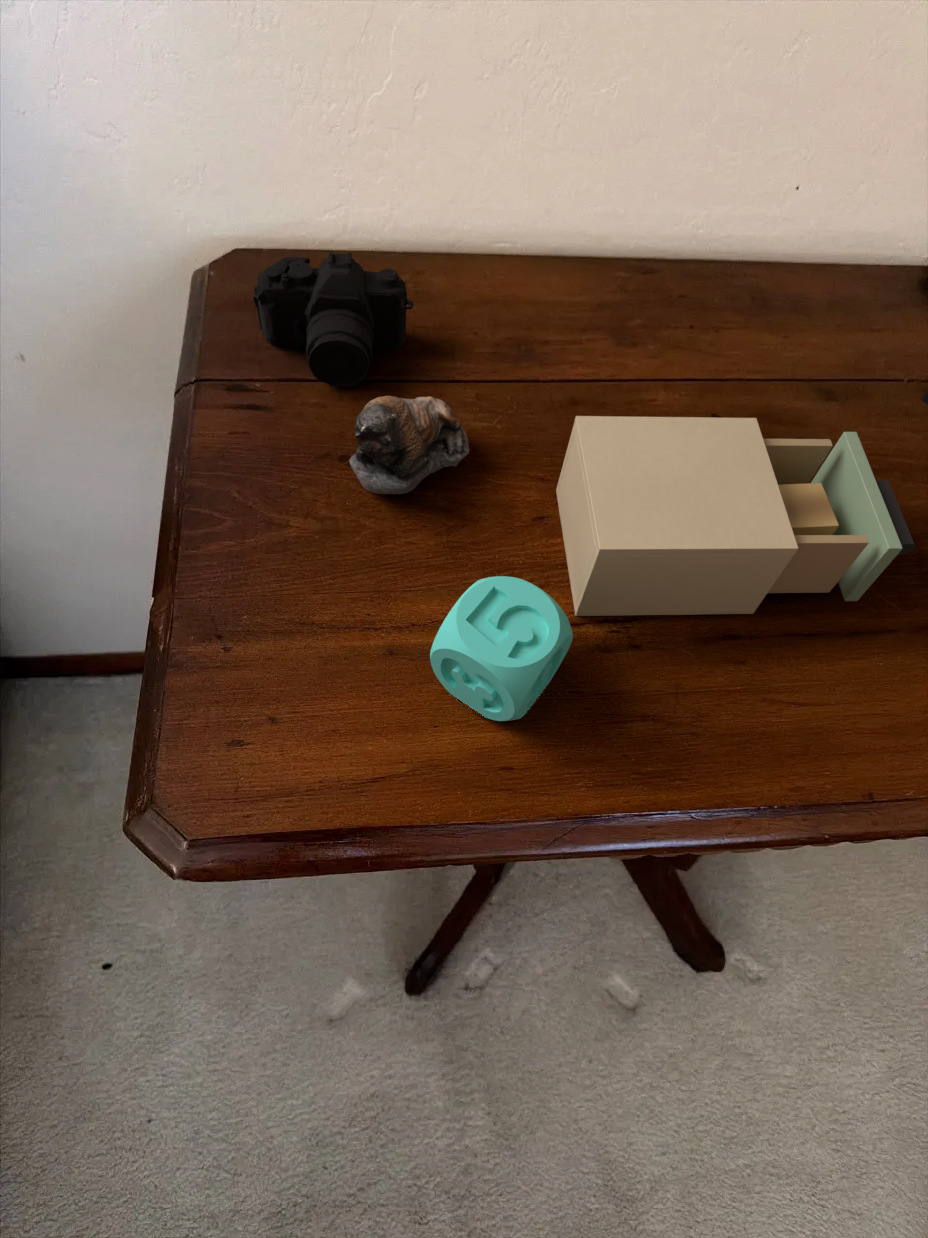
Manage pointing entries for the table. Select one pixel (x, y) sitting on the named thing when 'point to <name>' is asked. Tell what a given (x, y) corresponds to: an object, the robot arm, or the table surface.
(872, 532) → the drawer
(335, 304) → the film camera
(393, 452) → the bison figurine
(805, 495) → the block
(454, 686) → the decorative dice
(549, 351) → the table surface
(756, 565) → the cabinet
